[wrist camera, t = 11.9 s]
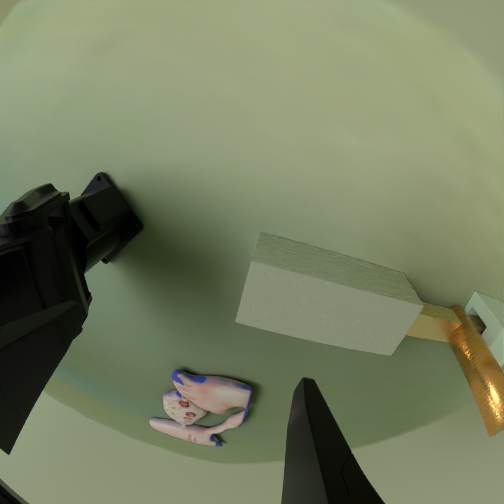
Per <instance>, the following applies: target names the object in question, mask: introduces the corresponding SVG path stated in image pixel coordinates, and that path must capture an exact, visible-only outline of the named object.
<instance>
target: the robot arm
mask: <svg viewBox="0 0 504 504" xmlns="http://www.w3.org/2000/svg"><path fill="white" fill-rule="evenodd" d="M100 176H101V180H100ZM69 200H70V196H69V192H58V191H57V190H56V189H55V187H54V186H53V185H52V184H51V183H49V184H45V185H42V186H39V187H37V188H34V189H32V190H30V191H28V192H27V193H25V194H24V195H23V196H21V197H20V198H19V199H18V200H16V201H14V202H12V203H11V204H10V205H9V206H8V207H7V209H6V210H5V211H4V212H3V213H2V215H1V216H0V449H2V450H3V451H4V452H6V453H7V454H8V455H9V454H10V452H11V450H12V448H13V446H14V444H15V442H16V440H17V438H18V436H19V434H20V431H21V430H22V428H23V425H24V424H25V421H26V420H27V417H28V416H29V414H30V412H31V410H32V408H33V407H34V405H35V403H36V401H37V399H38V398H39V396H40V394H41V392H42V391H43V389H44V387H45V386H46V384H47V382H48V381H49V379H50V377H51V376H52V374H53V373H54V371H55V369H56V368H57V366H58V365H59V363H60V361H61V360H62V358H63V357H64V355H65V354H66V352H67V350H68V349H69V347H70V345H71V343H72V341H73V339H75V338H76V337H77V336H78V335H79V334H80V333H81V332H82V330H83V328H82V325H83V323H84V321H85V320H86V318H87V316H88V310H89V305H90V303H91V301H92V296H91V293H90V292H89V290H88V287H87V283H86V280H85V276H84V274H85V273H86V272H87V271H88V270H89V269H91V268H92V267H93V266H94V265H95V264H97V263H98V262H99V261H100V260H101V261H102V262H103V263H105V264H107V263H108V262H110V261H111V260H112V259H113V258H114V257H115V256H116V255H117V254H118V253H119V252H120V251H121V250H122V249H123V248H124V247H125V246H126V245H127V244H128V243H129V242H130V241H131V240H132V239H133V238H134V237H135V236H136V235H137V234H138V233H139V232H140V231H142V229H143V224H142V222H141V221H140V220H139V219H138V217H137V216H136V215H135V213H134V212H133V211H132V210H131V208H130V206H129V205H128V204H127V202H126V201H125V200H124V198H123V197H122V196H121V194H120V193H119V192H118V190H117V189H116V188H115V186H113V184H112V183H111V182H110V180H109V179H108V177H107V176H106V175H105V173H103V172H100V173H97V174H96V175H95V177H94V178H93V179H92V181H91V182H90V183H89V185H88V186H87V187H86V189H85V190H84V192H83V193H82V194H81V196H80V197H77V198H75V199H73V200H71V201H69ZM136 225H137V226H138V228H137V227H136ZM105 257H106V258H105ZM351 452H352V451H351V450H350V448H349V446H348V444H347V442H346V440H345V438H344V436H343V434H342V432H341V430H340V428H339V426H338V425H337V423H336V421H335V419H334V417H333V415H332V413H331V411H330V409H329V407H328V405H327V403H326V401H325V399H324V398H323V396H322V394H321V392H320V390H319V388H318V386H317V384H316V382H315V380H314V379H312V378H306V377H303V378H302V379H301V381H300V382H299V384H298V385H297V387H296V389H295V391H294V394H293V400H292V406H291V411H290V417H289V422H288V428H287V439H286V454H285V468H284V481H283V491H282V502H281V504H385V503H384V502H383V500H382V499H381V497H380V496H379V495H378V493H377V492H376V491H375V489H374V488H373V486H372V485H371V483H370V482H369V481H368V479H367V478H366V476H365V475H364V473H363V471H362V470H361V468H360V466H359V464H358V463H357V461H356V459H355V457H354V455H353V454H352V453H351ZM0 504H29V503H28V502H26V501H25V500H24V499H23V498H22V497H20V496H19V495H18V494H17V493H15V492H14V491H13V490H12V489H11V488H9V486H8V485H7V484H5V483H4V482H3V481H2V480H1V479H0Z"/></svg>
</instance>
